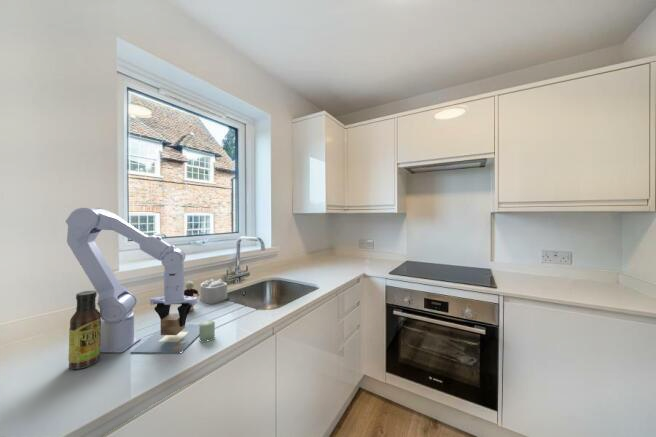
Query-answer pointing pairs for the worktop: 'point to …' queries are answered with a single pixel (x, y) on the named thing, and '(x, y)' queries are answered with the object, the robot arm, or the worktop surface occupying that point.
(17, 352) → the worktop surface
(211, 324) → the sage drum
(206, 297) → the lumpy-topped squat cylinder
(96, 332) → the sauce bottle
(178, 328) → the walnut block
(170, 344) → the board
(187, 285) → the grandmother figurine
